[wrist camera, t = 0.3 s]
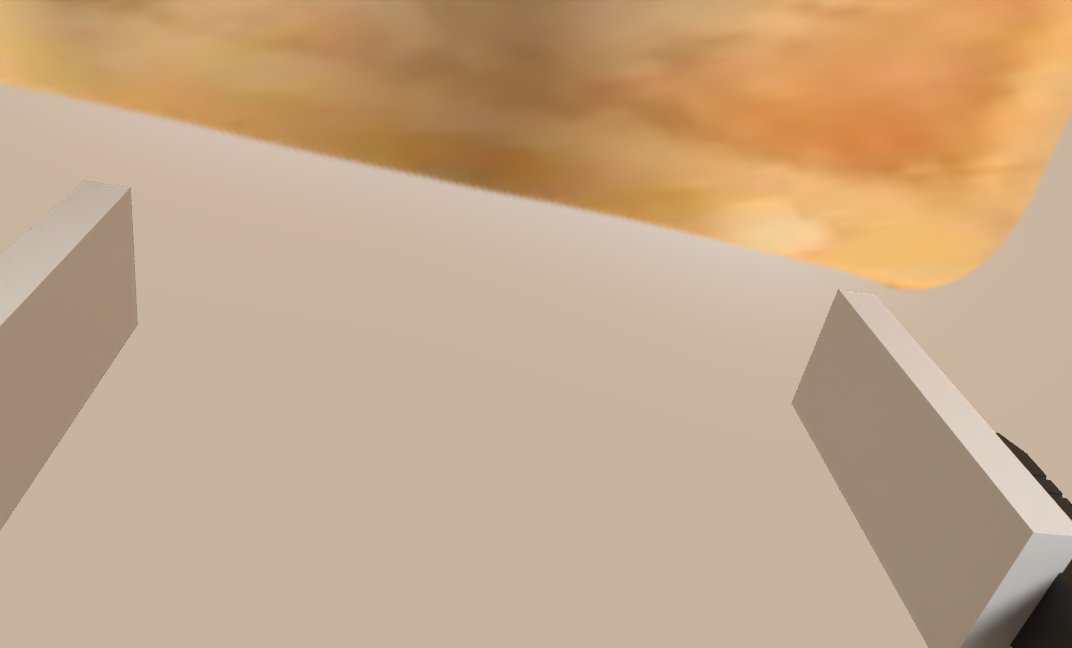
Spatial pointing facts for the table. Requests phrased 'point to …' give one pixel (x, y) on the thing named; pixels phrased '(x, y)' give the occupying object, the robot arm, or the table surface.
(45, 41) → the table surface
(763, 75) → the table surface
